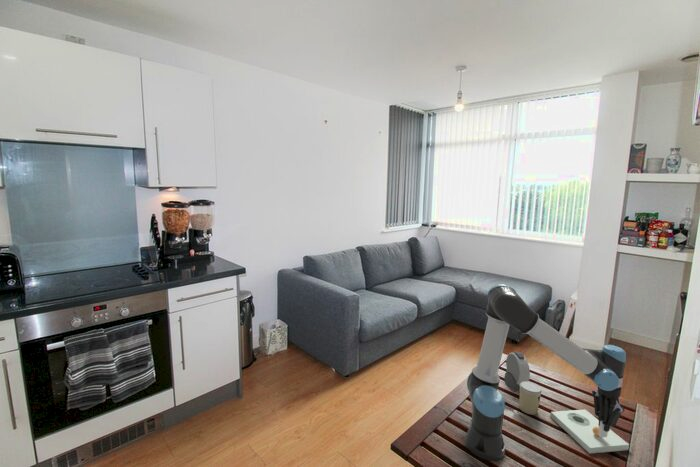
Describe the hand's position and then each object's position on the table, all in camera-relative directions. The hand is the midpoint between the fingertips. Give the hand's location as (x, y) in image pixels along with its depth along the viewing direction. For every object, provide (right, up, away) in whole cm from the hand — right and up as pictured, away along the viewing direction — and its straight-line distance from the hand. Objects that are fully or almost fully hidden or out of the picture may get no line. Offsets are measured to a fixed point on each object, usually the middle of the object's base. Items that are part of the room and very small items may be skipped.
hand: (602, 435), depth 140 cm
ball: (0, +1, +2) cm, 2 cm away
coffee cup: (-19, -1, +22) cm, 29 cm away
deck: (-1, -3, +8) cm, 8 cm away
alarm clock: (-15, +2, +43) cm, 45 cm away
